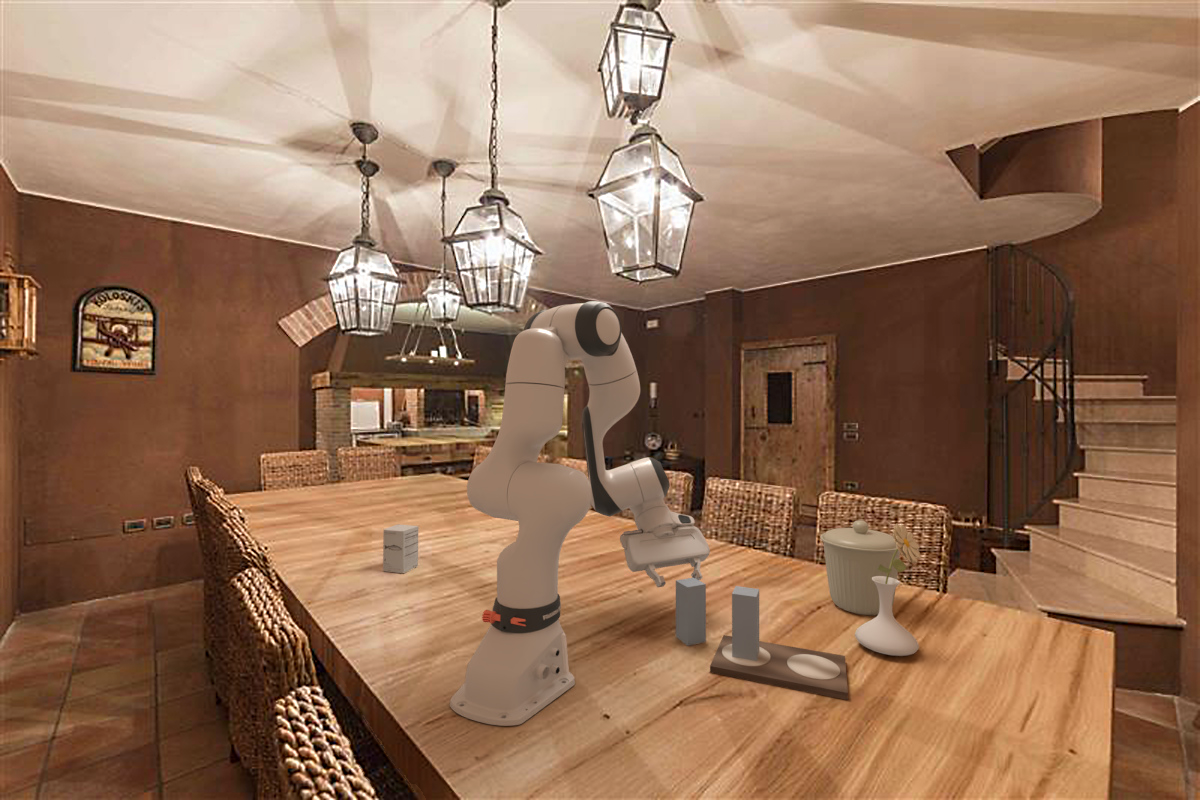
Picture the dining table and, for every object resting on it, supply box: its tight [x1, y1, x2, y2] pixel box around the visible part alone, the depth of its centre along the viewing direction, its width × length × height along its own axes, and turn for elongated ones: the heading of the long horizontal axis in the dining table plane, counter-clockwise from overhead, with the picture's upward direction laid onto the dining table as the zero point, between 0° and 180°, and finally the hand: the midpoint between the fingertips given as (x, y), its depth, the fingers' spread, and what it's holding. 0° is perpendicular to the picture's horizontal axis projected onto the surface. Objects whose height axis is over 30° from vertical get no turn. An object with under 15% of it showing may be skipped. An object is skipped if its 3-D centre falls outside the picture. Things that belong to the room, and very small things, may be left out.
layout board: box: [709, 634, 849, 701], centre depth 99 cm, size 14×23×1 cm, turn 67°
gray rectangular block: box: [675, 577, 707, 647], centre depth 110 cm, size 4×4×12 cm
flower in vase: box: [854, 523, 921, 657], centre depth 106 cm, size 13×11×25 cm
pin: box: [731, 585, 760, 661], centre depth 101 cm, size 4×4×12 cm
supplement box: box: [382, 523, 419, 574], centre depth 157 cm, size 7×7×13 cm
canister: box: [819, 519, 901, 616], centre depth 127 cm, size 18×18×21 cm
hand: (680, 582), depth 114 cm, fingers open, 8 cm apart
